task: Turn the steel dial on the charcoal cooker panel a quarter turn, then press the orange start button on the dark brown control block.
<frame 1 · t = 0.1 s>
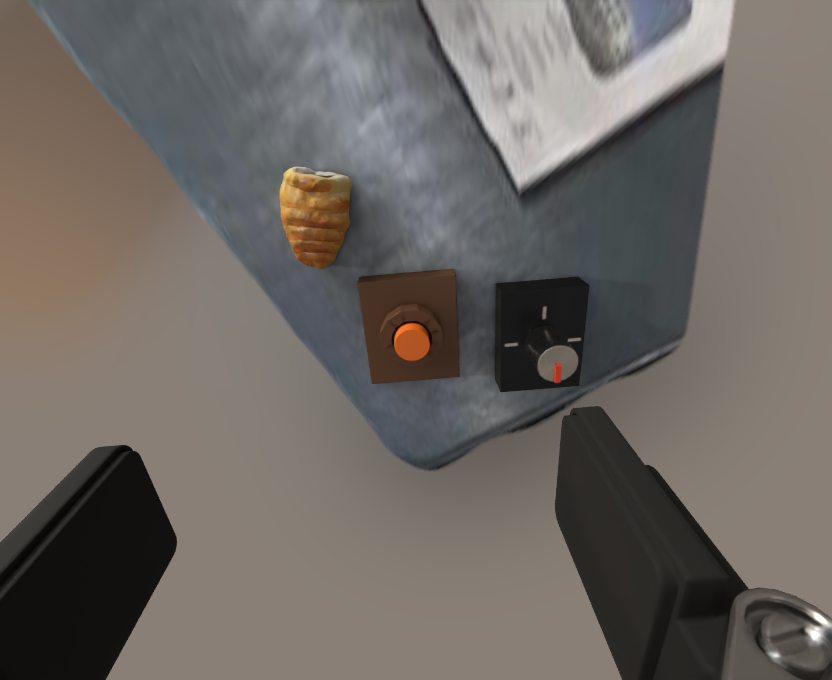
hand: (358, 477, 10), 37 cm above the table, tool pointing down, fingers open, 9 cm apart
dial: (550, 353, 44), point 6 cm above the table, hinge at 0.0°
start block: (411, 324, 48), on the table
start button: (411, 341, 44), point 4 cm above the table, slide at 0.1 cm
dial panel: (534, 330, 49), on the table
pastry: (320, 210, 43), on the table
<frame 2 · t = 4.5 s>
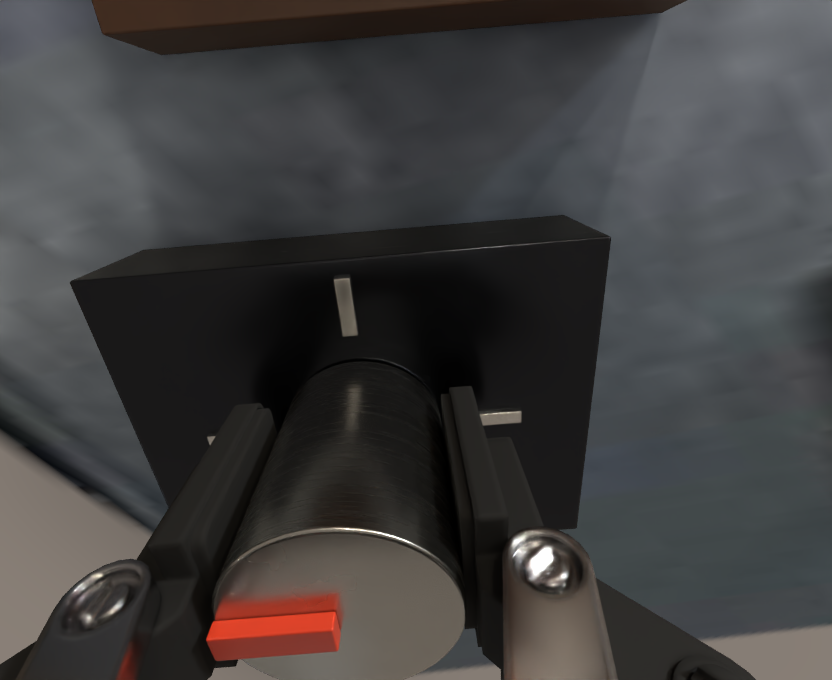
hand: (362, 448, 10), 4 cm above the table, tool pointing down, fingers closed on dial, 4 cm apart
dial: (355, 505, 9), point 6 cm above the table, hinge at -0.1°, touching gripper
dial panel: (372, 370, 14), on the table
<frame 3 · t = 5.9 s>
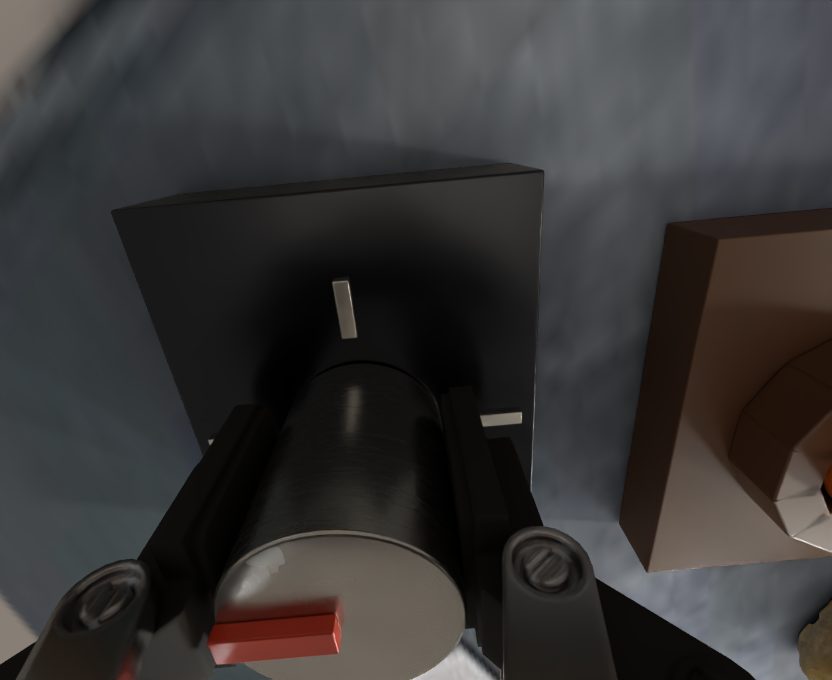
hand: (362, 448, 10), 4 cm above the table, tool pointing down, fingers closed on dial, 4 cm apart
dial: (355, 507, 9), point 6 cm above the table, hinge at 90.2°, touching gripper
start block: (783, 386, 15), on the table
dial panel: (372, 372, 14), on the table
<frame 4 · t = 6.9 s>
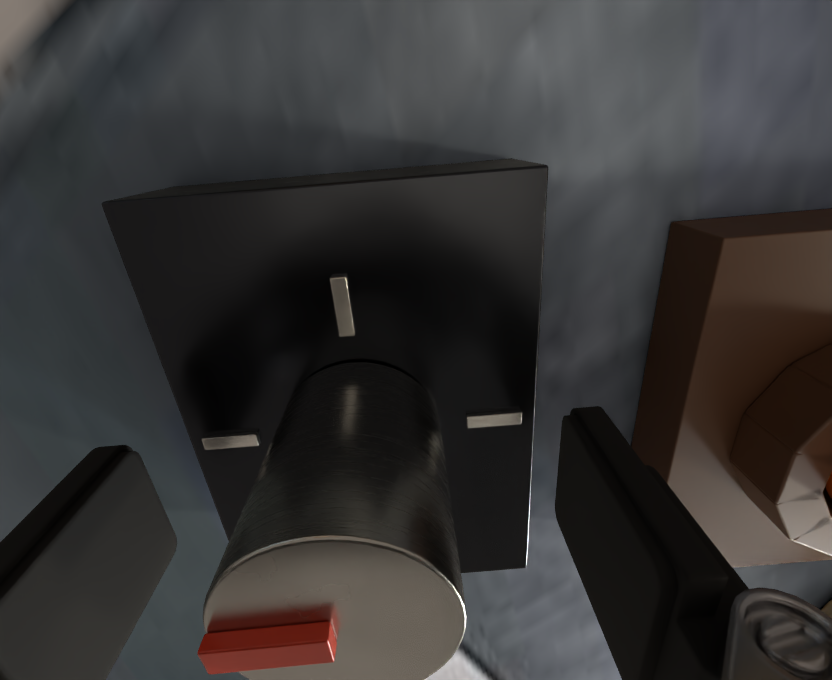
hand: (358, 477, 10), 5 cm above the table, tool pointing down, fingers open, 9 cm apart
dial: (352, 509, 9), point 6 cm above the table, hinge at 91.5°
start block: (784, 387, 15), on the table
dial panel: (370, 370, 14), on the table
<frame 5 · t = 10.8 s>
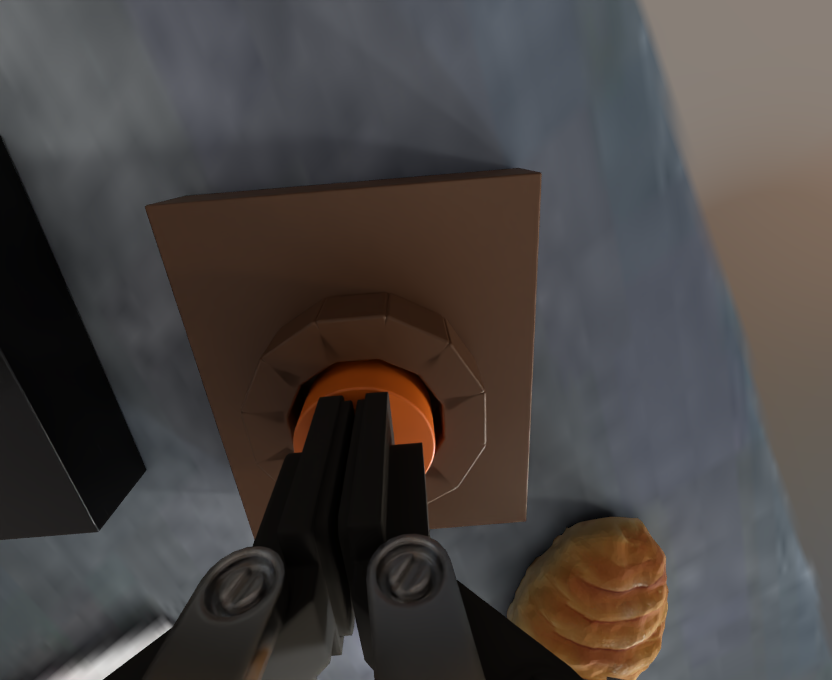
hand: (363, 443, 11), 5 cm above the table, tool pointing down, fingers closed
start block: (375, 360, 15), on the table
start button: (367, 428, 12), point 4 cm above the table, slide at -0.4 cm, touching gripper
pastry: (570, 582, 21), on the table
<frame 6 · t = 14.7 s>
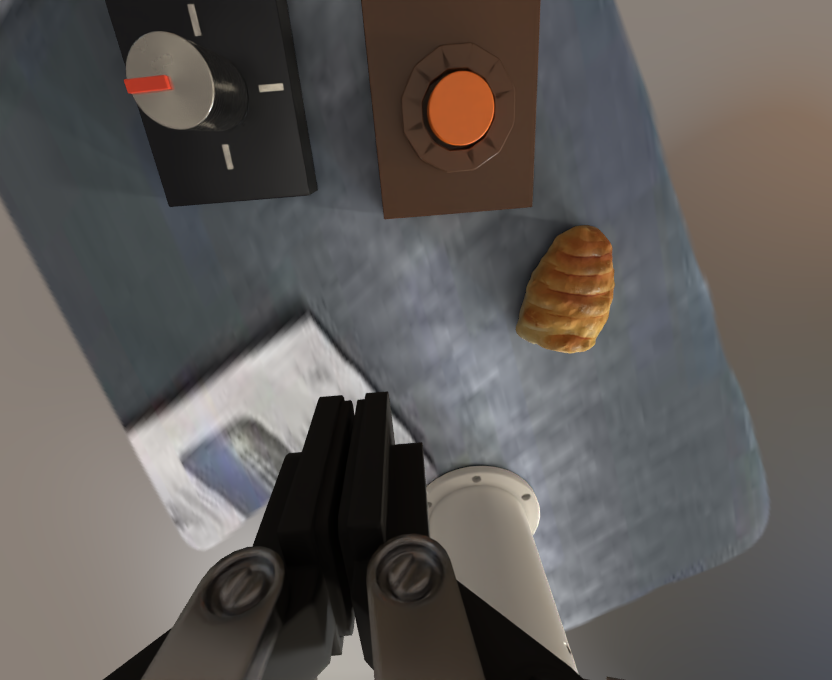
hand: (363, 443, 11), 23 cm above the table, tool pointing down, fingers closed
dial: (192, 87, 22), point 6 cm above the table, hinge at 91.5°
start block: (451, 114, 28), on the table
start button: (459, 110, 24), point 4 cm above the table, slide at 0.1 cm
dial panel: (231, 97, 27), on the table
pastry: (558, 291, 34), on the table
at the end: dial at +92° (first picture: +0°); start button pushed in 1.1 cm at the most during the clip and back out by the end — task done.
